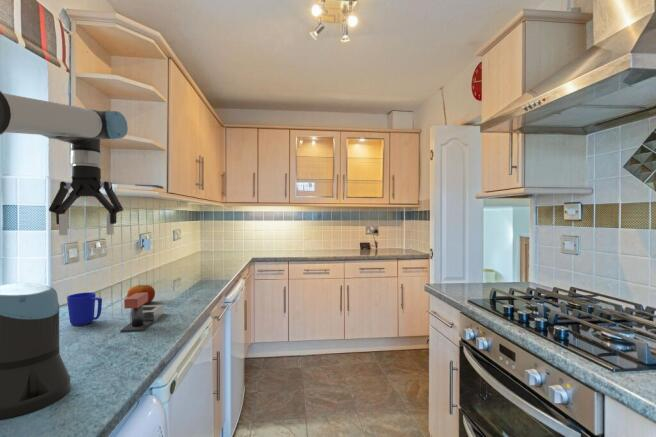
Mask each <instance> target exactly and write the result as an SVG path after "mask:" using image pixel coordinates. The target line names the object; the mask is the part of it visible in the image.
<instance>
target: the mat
mask: <svg viewBox="0 0 656 437" xmlns="http://www.w3.org/2000/svg"><path fill="white" fill-rule="evenodd" d="M153 323H154V322H153V321H143V325H142V326H138V327H132V322H131V323H130V322H129V323H128V324H127V325H126V326H124V327H123V328H121V329H120V333H128V332H132V333H133V332H144V331H145V330H146V329H148V328H149V327H150V326H151V325H152V324H153Z"/></svg>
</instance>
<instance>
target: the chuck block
mask: <svg viewBox="0 0 656 437" xmlns="http://www.w3.org/2000/svg"><path fill="white" fill-rule="evenodd" d="M164 310H165V309H164V304H145V305H143V321H153V323H154V322H155V321H157V320H158V319H159V318H160V317H162V316H163V315H164ZM131 322H132V317H131V312H129V324H130V323H131Z"/></svg>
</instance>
